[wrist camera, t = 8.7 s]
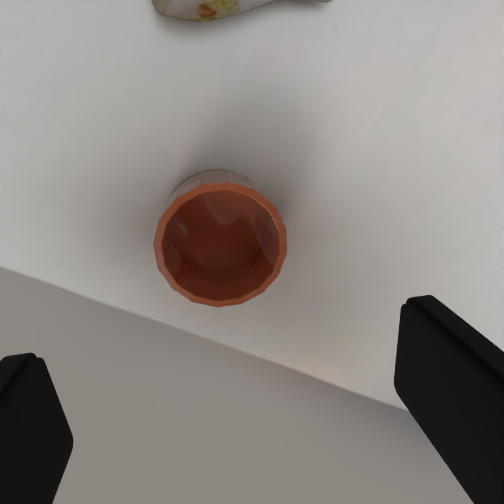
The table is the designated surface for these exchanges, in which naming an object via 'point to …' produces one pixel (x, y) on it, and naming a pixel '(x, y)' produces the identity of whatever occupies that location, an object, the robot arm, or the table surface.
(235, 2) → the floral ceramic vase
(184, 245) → the cup
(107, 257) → the table surface
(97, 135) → the table surface
